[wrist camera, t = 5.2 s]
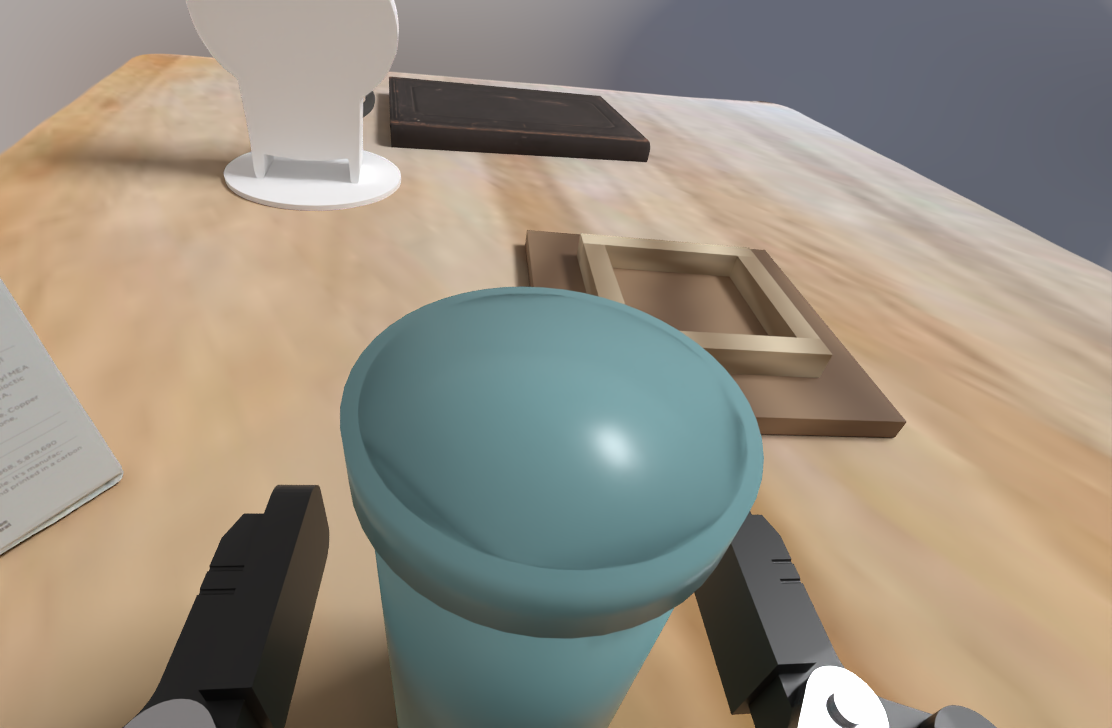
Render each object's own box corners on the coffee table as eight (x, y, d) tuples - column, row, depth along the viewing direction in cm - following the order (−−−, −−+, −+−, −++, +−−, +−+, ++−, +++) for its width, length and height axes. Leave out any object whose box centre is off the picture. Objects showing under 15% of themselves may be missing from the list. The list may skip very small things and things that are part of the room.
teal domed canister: (586, 603, 16) (692, 297, 10) (620, 833, 12) (846, 585, 5) (404, 608, 16) (378, 275, 9) (373, 857, 11) (280, 596, 5)
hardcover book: (390, 100, 57) (389, 76, 55) (596, 117, 63) (600, 95, 61) (391, 154, 45) (390, 125, 43) (646, 168, 51) (652, 143, 50)
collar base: (759, 263, 37) (773, 231, 35) (894, 437, 24) (924, 398, 23) (525, 244, 34) (529, 208, 33) (545, 428, 22) (553, 384, 20)
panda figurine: (410, 154, 44) (402, -84, 34) (410, 214, 35) (400, -79, 26) (246, 143, 41) (189, -120, 32) (204, 206, 32) (109, -128, 23)
